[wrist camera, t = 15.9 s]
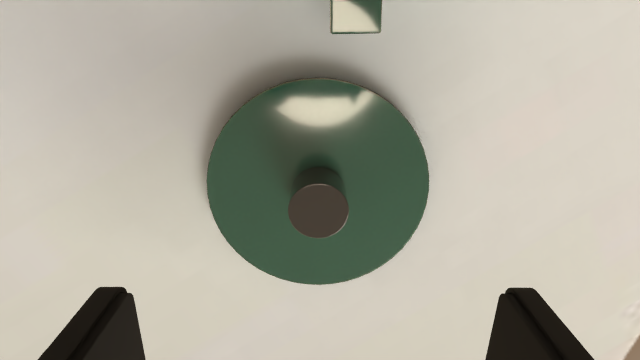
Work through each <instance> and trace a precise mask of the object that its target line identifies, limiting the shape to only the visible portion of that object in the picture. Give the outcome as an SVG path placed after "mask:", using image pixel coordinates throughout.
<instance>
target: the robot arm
mask: <svg viewBox="0 0 640 360" xmlns="http://www.w3.org/2000/svg"><path fill="white" fill-rule="evenodd" d="M38 360H145V355H144V349H143V344H142V339H141V334H140V328H139V323H138V318H137V313H136V307H135V302H134V297H133V295H132V294H131V293H127V291H126V289H125V288H123V287H99V288H97V289H96V290H95V291H94V293H93V294H92V295H91V296H90V297H89V299H88V300H87V301H86V302H85V303H84V305H83V306H82V307H81V308H80V310H79V311H78V312H77V313H76V314H75V316H74V317H73V318H72V319H71V320H70V322H69V323H68V324H67V325H66V327H65V328H64V329H63V330H62V331H61V333H60V334H59V335H58V336H57V337H56V339H55V340H54V341H53V342H52V344H51V345H50V346H49V347H48V348H47V349H46V350H45V352H44V353H43V354H42V355H41V356H40V358H39V359H38ZM486 360H594V359H593V358H592V356H591V355H590V354H589V353H588V352H587V351H586V349H585V348H584V347H583V346H582V345H581V343H580V342H579V341H578V340H577V339H576V337H575V336H574V335H573V334H572V333H571V332H570V330H569V329H568V328H567V327H566V326H565V324H564V323H563V322H562V321H561V320H560V319H559V317H558V316H557V315H556V314H555V313H554V311H553V310H552V309H551V308H550V307H549V305H548V304H547V303H546V302H545V301H544V300H543V298H542V297H541V296H540V295H539V294H538V292H537V291H536V290H534V289H533V288H508V289H507V290H506V293H505V294H501V295H500V297H499V300H498V305H497V309H496V314H495V319H494V323H493V328H492V332H491V337H490V341H489V346H488V351H487V355H486Z"/></svg>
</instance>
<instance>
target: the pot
mask: <svg viewBox="0 0 640 360" xmlns="http://www.w3.org/2000/svg"><path fill="white" fill-rule="evenodd" d="M381 14H382V0H330V32H331V33H332V34H363V33H380V32H381Z"/></svg>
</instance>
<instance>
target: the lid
mask: <svg viewBox="0 0 640 360" xmlns="http://www.w3.org/2000/svg"><path fill="white" fill-rule="evenodd" d="M428 192H429V172H428V164H427V160H426V156H425V152H424V149H423V147H422V144H421V142H420V140H419V137H418V136H417V134H416V132H415V131H414V129H413V127H412V126H411V124H410V123H409V122H408V121H407V119H406V118H405V117H404V116H403V115H402V113H401V112H400V111H399V110H397V109H396V108H395V107H394V106H393V105H392V104H391V103H390V102H389V101H387V100H386V99H384V98H383V97H381V96H380V95H378V94H377V93H375V92H373V91H371V90H369V89H367V88H365V87H363V86H360V85H357V84H354V83H351V82H348V81H342V80H337V79H331V78H307V79H298V80H294V81H289V82H285V83H282V84H280V85H277V86H274V87H271V88H269V89H267V90H265V91H264V92H262V93H260V94H258V95H256V96H255V97H253V98H252V99H251V100H249V101H248V102H247V103H245V104H244V105H243V106H242V107H241V108H240V109H239V110H238V111H237V112H236V113H235V114H234V115H233V116H232V117H231V118H230V120H229V121H228V122H227V123H226V125H225V126H224V127H223V129H222V131H221V133H220V134H219V136H218V138H217V140H216V142H215V144H214V147H213V150H212V152H211V156H210V160H209V164H208V172H207V194H208V199H209V204H210V208H211V211H212V214H213V217H214V220H215V221H216V223H217V225H218V227H219V229H220V231H221V233H222V234H223V236H224V237H225V239H226V240H227V242H228V243H229V244H230V245H231V246H232V247H233V249H234V250H235V251H236V252H237V253H238V254H239V255H241V256H242V257H243V258H244V259H245V260H246V261H248V262H249V263H251V264H252V265H254V266H255V267H256V268H258V269H260V270H262V271H264V272H266V273H268V274H270V275H272V276H275V277H278V278H280V279H283V280H287V281H291V282H296V283H302V284H317V285H321V284H334V283H339V282H345V281H348V280H352V279H355V278H358V277H361V276H363V275H365V274H368V273H370V272H372V271H374V270H375V269H377V268H379V267H381V266H382V265H384V264H385V263H386V262H388V261H389V260H390V259H392V258H393V257H394V256H395V255H396V254H397V253H398V252H399V251H400V250H401V249H402V248H403V247H404V246H405V245H406V243H407V242H408V241H409V240H410V238H411V237H412V235H413V234H414V232H415V230H416V229H417V227H418V225H419V223H420V221H421V218H422V216H423V213H424V210H425V207H426V204H427V198H428Z"/></svg>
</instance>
